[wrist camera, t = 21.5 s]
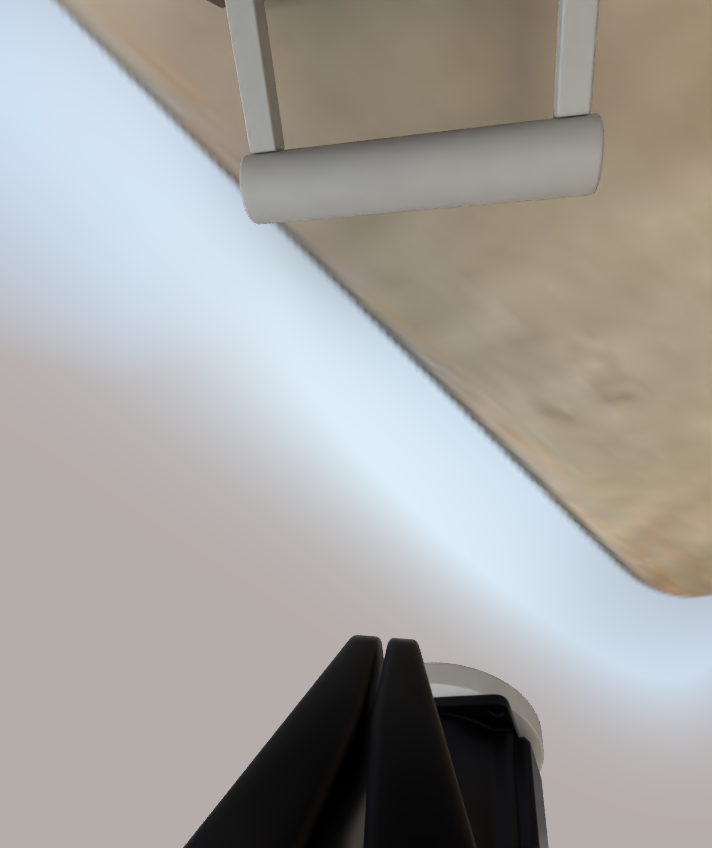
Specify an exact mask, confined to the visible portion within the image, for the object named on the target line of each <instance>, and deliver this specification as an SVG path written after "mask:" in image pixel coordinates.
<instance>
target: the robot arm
mask: <svg viewBox="0 0 712 848" xmlns="http://www.w3.org/2000/svg"><path fill="white" fill-rule="evenodd" d="M183 848H548V839H547V829H546V819H545V809H544V800H543V790H542V781H541V776H540V772H539V769H538V766H537V762H536V759H535V756H534V753H533V749H532V746H531V743H530V741H529V740H528V739H526V738H525V737H524V736H522V737H520V735H519V732H518V729H517V726H516V723H515V719H514V716H513V713H512V710H511V707H510V703H509V701H508V699H507V698H505V697H504V696H502V695H499V694H486V695H468V696H449V697H433V694H432V690H431V687H430V683H429V680H428V676H427V673H426V669H425V666H424V662H423V659H422V655H421V652H420V649H419V645H418V643H417V642H416V641H415V640H412V639H399V638H392V639H390V641H389V642H388V645H387V649H386V654H385V658H383V650H382V643H381V640H380V639H379V638H378V637H374V636H362V635H356V636H353V637H352V638H350V640H349V641H348V642H347V643H346V645H345V646H344V647H343V648H342V650H341V651H340V652H339V653H338V655H337V656H336V657H335V658H334V660H333V661H332V662H331V663H330V665H329V666H328V667H327V668H326V670H325V671H324V672H323V673H322V675H321V676H320V677H319V678H318V680H317V681H316V682H315V683H314V685H313V686H312V687H311V688H310V690H309V691H308V692H307V693H306V695H305V696H304V697H303V698H302V700H301V701H300V702H299V703H298V705H297V706H296V707H295V708H294V710H293V711H292V712H291V714H290V715H289V716H288V717H287V718H286V720H285V721H284V722H283V724H282V725H281V726H280V727H279V728H278V730H277V731H276V732H275V734H274V735H273V736H272V738H270V740H269V741H268V742H267V744H266V745H265V746H264V747H263V748H262V750H261V751H260V752H259V754H258V755H257V756H256V757H255V758H254V760H253V761H252V762H251V764H250V765H249V766H248V767H247V769H246V770H245V771H244V772H243V774H242V775H241V776H240V777H239V779H238V780H237V781H236V782H235V784H234V785H233V786H232V787H231V789H230V790H229V791H228V792H227V794H226V795H225V796H224V797H223V799H222V800H221V801H220V802H219V804H218V805H217V806H216V807H215V809H214V810H213V811H212V812H211V814H210V815H209V816H208V817H207V819H206V820H205V821H204V822H203V824H202V825H201V826H200V827H199V829H198V830H197V831H196V832H195V834H194V835H193V836H192V837H191V839H190V840H189V841H188V843H187V844H186V845H185V846H184V847H183Z"/></svg>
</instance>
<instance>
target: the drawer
mask: <svg viewBox="0 0 712 848" xmlns="http://www.w3.org/2000/svg"><path fill="white" fill-rule="evenodd" d="M207 1H209V2H211V3H213V4H215V5H217V6H219V7H221V8H224V7H226V11H227V17H228V23H229V29H230V35H231V41H232V47H233V53H234V59H235V65H236V71H237V77H238V83H239V89H240V95H241V101H242V107H243V113H244V119H245V125H246V131H247V137H248V143H249V149H250V152H251V153H255V154H248V155H246V156H245V157H243V159H242V161H241V165H240V172H239V181H240V190H241V196H242V200H243V204H244V207H245V210H246V212H247V214H248V216H249V217H250V219H251V220H252V221H253V222H254V223H257V224H267V223H279V222H290V221H301V220H313V219H324V218H336V217H347V216H358V215H370V214H381V213H393V212H404V211H415V210H427V209H438V208H450V207H461V206H472V205H484V204H495V203H507V202H518V201H530V200H541V199H552V198H564V197H575V196H587V195H592V194H593V193H595V191H596V189H597V186H598V183H599V180H600V176H601V170H602V163H603V153H604V127H603V122H602V118H601V116H600V115H599V114H589V113H590V111H591V105H592V92H593V79H594V66H595V53H596V40H597V27H598V14H599V1H600V0H559V4H558V24H557V44H556V64H555V84H554V104H553V117H554V118H553V119H545V120H536V121H528V122H519V123H511V124H502V125H494V126H485V127H477V128H468V129H460V130H451V131H443V132H434V133H425V134H417V135H408V136H400V137H391V138H383V139H374V140H366V141H357V142H349V143H340V144H332V145H323V146H315V147H306V148H298V149H289V150H284V141H283V133H282V126H281V119H280V112H279V105H278V98H277V91H276V84H275V77H274V70H273V63H272V56H271V49H270V42H269V34H268V27H267V20H266V13H265V6H264V0H207ZM586 114H587V115H586Z"/></svg>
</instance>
